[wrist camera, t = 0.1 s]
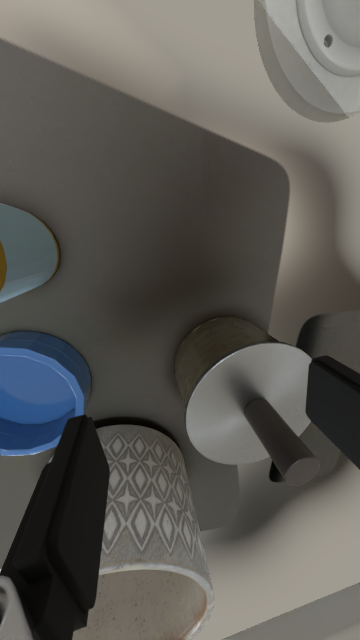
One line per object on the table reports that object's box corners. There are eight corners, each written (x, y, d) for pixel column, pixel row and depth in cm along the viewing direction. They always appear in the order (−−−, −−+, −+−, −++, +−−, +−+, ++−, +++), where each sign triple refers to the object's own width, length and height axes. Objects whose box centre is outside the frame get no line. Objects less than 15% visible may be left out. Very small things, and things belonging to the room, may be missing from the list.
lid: (238, 311, 18) (299, 349, 11) (337, 372, 22) (423, 426, 16) (155, 434, 20) (165, 525, 14) (260, 467, 25) (305, 548, 18)
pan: (-9, 310, 22) (-38, 324, 18) (109, 359, 26) (105, 378, 22) (-50, 406, 24) (-84, 436, 20) (64, 437, 28) (54, 467, 24)
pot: (209, 297, 25) (243, 321, 18) (283, 342, 30) (336, 377, 22) (155, 382, 28) (164, 437, 20) (230, 413, 32) (262, 468, 24)
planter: (41, 517, 31) (-29, 720, 18) (51, 411, 26) (-35, 583, 13) (167, 510, 36) (185, 667, 23) (196, 419, 31) (242, 552, 18)
